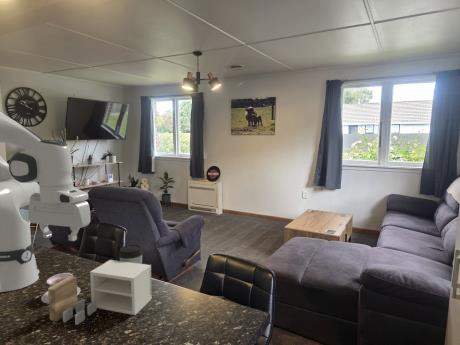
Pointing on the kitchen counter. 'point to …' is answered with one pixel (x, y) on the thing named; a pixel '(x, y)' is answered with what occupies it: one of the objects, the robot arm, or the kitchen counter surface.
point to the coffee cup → (131, 254)
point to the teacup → (55, 280)
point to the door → (62, 297)
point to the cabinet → (116, 289)
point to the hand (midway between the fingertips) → (60, 238)
